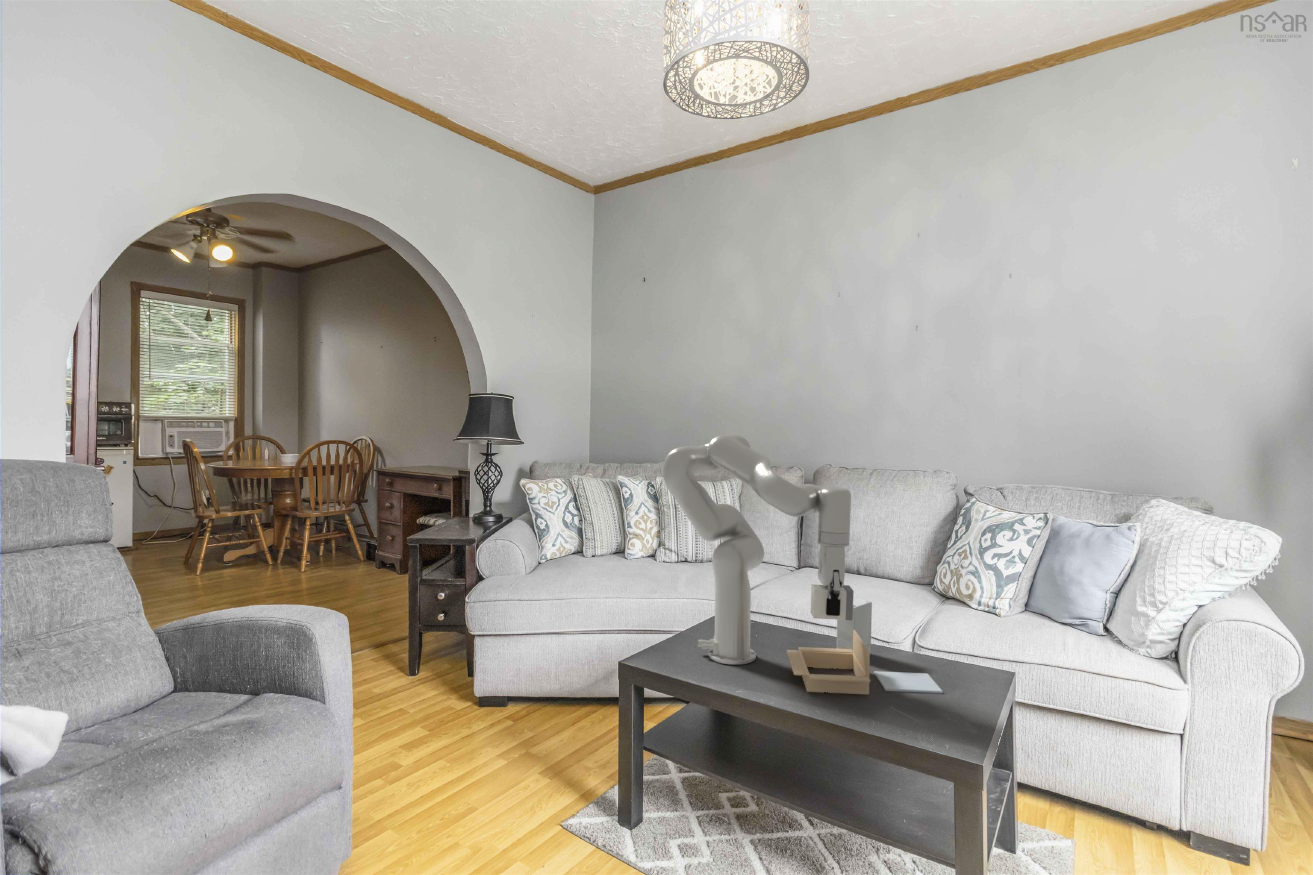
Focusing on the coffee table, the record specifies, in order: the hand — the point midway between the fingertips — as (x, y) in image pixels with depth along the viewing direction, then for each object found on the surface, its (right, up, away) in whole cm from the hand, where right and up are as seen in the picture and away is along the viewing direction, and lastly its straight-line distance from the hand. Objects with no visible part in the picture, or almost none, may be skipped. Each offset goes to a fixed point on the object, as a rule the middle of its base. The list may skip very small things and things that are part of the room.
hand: (830, 610), depth 162 cm
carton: (-1, -17, 0) cm, 17 cm away
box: (0, -1, 0) cm, 1 cm away
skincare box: (+11, -17, +17) cm, 26 cm away
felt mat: (+18, -17, -1) cm, 25 cm away
